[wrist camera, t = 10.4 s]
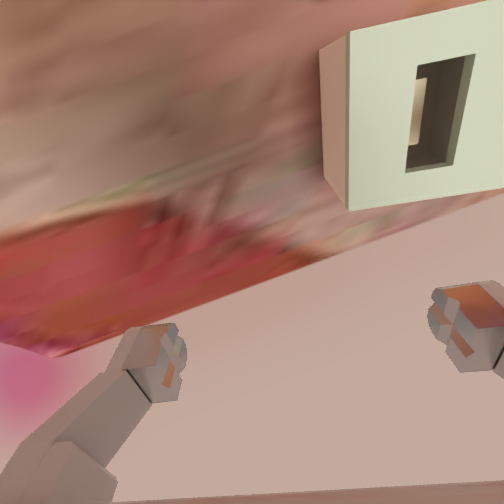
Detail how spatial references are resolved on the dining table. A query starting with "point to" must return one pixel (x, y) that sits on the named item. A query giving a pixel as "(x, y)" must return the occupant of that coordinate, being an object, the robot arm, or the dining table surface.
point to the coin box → (401, 103)
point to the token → (417, 110)
